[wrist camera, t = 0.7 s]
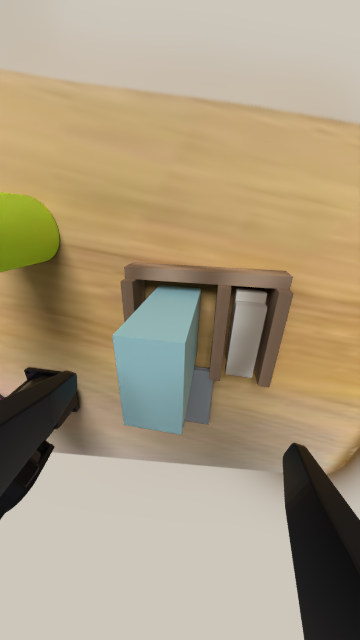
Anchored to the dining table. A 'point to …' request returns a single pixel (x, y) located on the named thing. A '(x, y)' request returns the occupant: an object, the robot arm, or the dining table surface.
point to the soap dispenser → (25, 232)
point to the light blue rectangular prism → (158, 358)
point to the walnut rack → (221, 305)
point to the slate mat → (199, 396)
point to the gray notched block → (245, 331)
